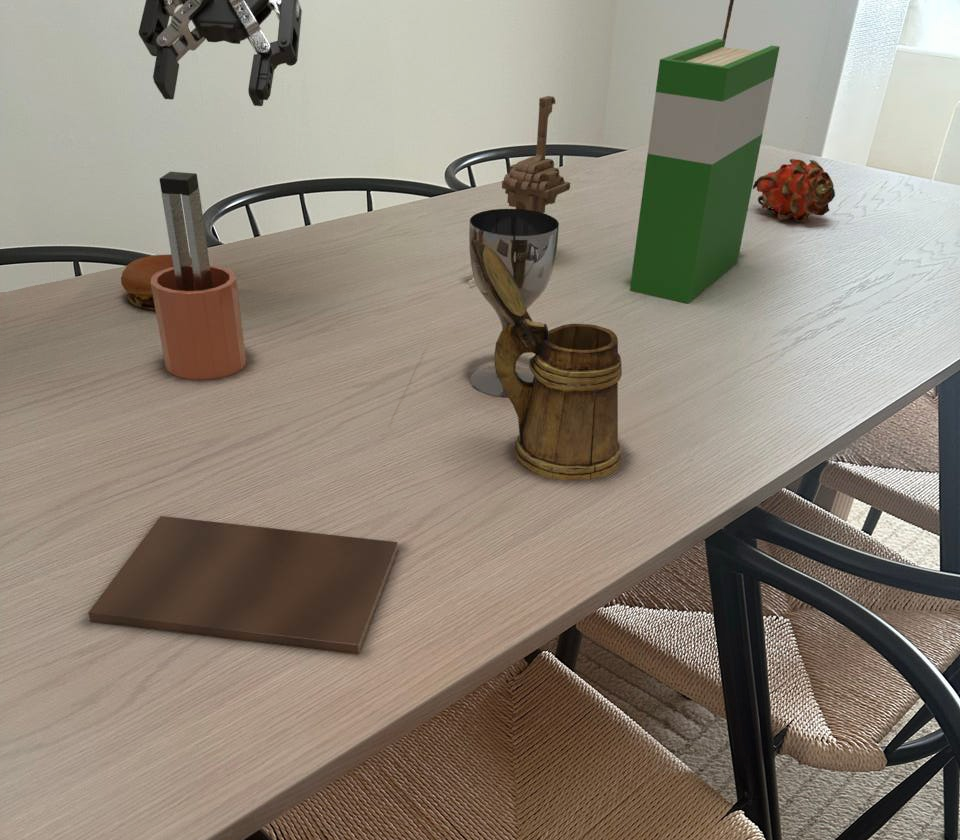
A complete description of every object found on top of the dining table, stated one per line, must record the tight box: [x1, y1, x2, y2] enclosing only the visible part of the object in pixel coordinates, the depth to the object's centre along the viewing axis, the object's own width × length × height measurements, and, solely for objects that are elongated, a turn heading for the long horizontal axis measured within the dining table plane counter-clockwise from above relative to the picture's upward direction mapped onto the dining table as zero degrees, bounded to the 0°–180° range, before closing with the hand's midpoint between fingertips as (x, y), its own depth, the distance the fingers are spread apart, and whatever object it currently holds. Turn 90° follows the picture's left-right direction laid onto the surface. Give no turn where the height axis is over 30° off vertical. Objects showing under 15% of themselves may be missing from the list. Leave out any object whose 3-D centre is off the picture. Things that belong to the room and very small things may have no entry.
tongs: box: [159, 171, 213, 291], centre depth 91 cm, size 2×2×17 cm
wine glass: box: [468, 208, 560, 398], centre depth 92 cm, size 8×8×15 cm
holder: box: [151, 264, 247, 381], centre depth 94 cm, size 8×8×9 cm
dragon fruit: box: [752, 158, 836, 223], centre depth 140 cm, size 8×8×12 cm
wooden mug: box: [469, 239, 623, 481], centre depth 79 cm, size 9×14×18 cm, turn 81°
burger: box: [120, 253, 192, 311], centre depth 108 cm, size 10×9×5 cm
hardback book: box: [629, 38, 781, 304], centre depth 115 cm, size 18×7×24 cm, turn 150°
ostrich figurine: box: [467, 95, 571, 287], centre depth 116 cm, size 17×7×18 cm, turn 145°
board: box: [87, 515, 398, 655], centre depth 68 cm, size 18×12×2 cm, turn 82°
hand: (210, 97), depth 90 cm, fingers open, 8 cm apart
